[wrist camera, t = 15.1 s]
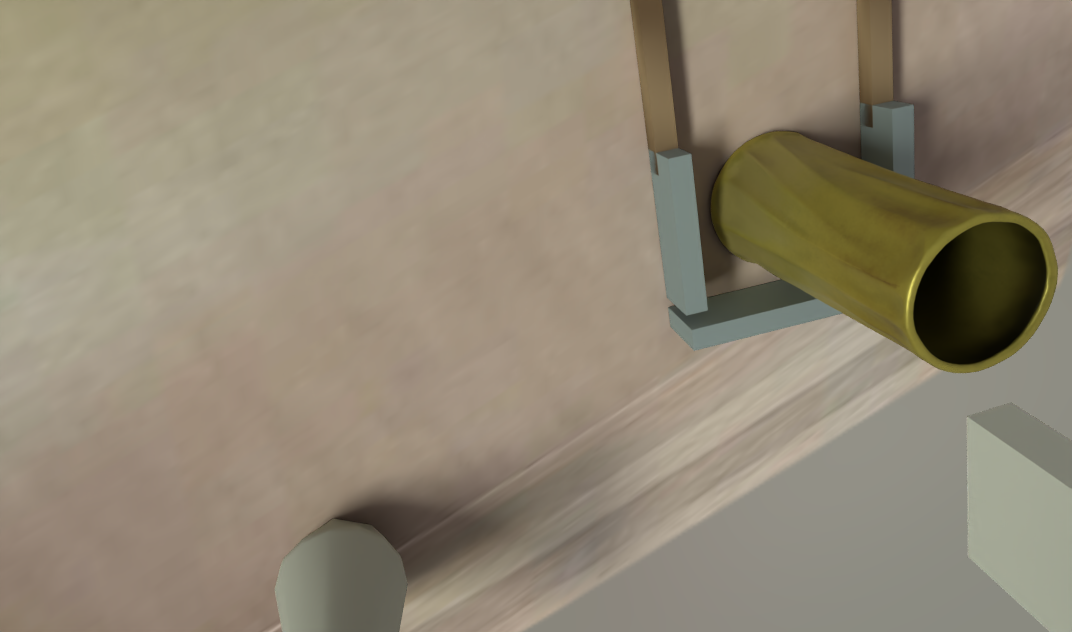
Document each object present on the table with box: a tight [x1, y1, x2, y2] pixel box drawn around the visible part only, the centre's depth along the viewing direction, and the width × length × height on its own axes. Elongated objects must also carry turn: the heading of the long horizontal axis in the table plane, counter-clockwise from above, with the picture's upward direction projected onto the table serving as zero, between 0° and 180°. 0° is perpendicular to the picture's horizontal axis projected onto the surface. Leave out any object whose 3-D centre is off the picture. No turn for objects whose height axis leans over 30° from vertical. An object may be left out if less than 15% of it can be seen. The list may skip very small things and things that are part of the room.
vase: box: [711, 131, 1058, 373], centre depth 33 cm, size 6×6×14 cm
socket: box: [649, 101, 914, 351], centre depth 38 cm, size 8×11×3 cm
